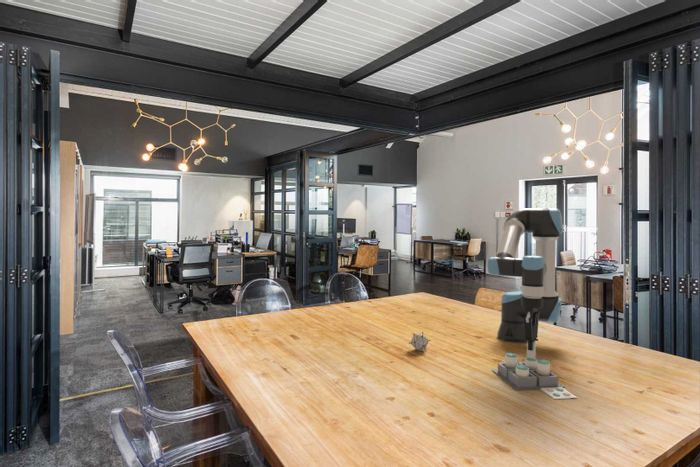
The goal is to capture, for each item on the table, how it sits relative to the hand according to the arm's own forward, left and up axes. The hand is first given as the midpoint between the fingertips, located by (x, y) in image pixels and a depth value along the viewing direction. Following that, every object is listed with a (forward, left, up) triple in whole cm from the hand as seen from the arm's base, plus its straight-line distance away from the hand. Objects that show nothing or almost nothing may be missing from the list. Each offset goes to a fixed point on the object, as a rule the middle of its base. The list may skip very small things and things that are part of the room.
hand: (531, 357), depth 153 cm
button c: (0, +8, -3) cm, 9 cm away
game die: (+35, -32, -7) cm, 48 cm away
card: (0, +17, -7) cm, 18 cm away
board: (+4, +4, -7) cm, 9 cm away
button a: (+8, +8, -5) cm, 12 cm away
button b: (+8, 0, -3) cm, 9 cm away
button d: (0, 0, -5) cm, 5 cm away
